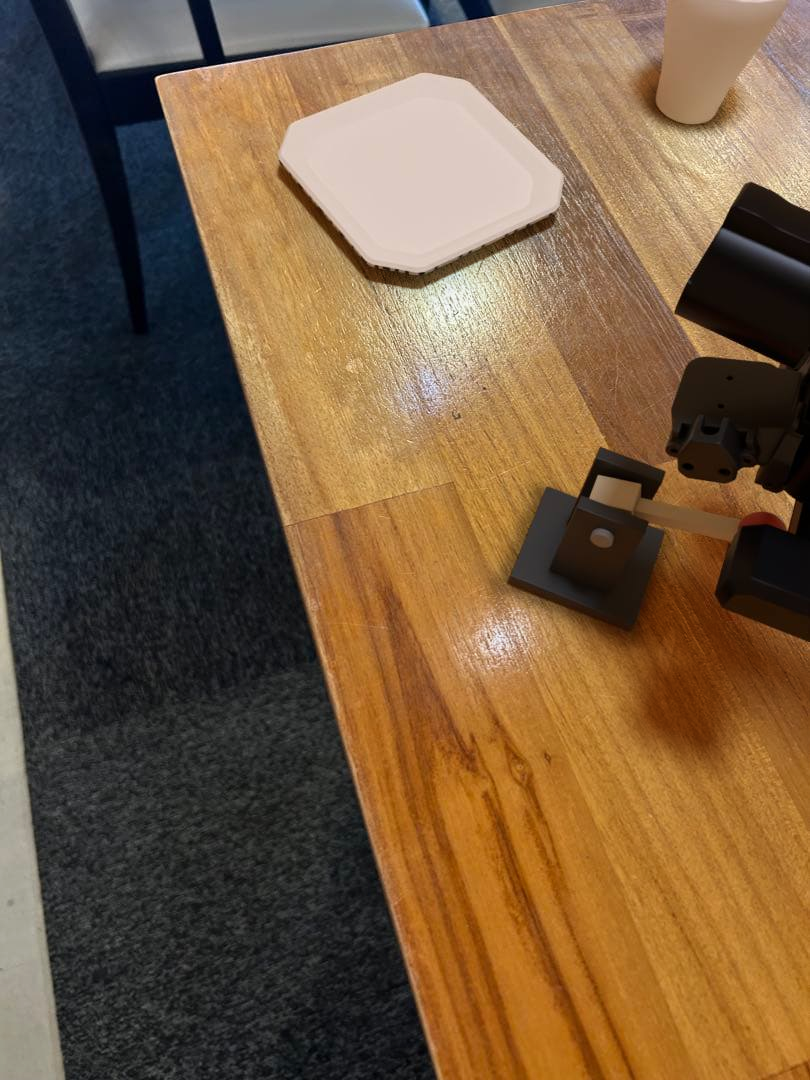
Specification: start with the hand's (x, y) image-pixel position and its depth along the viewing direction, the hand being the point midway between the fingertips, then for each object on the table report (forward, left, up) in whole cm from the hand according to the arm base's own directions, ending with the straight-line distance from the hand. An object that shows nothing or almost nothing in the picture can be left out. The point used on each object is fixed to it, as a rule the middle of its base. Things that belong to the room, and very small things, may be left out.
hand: (754, 546), depth 59 cm
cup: (+15, -52, -9) cm, 55 cm away
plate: (+34, -30, -9) cm, 46 cm away
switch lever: (+4, 0, -1) cm, 4 cm away
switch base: (+9, 0, -9) cm, 13 cm away
